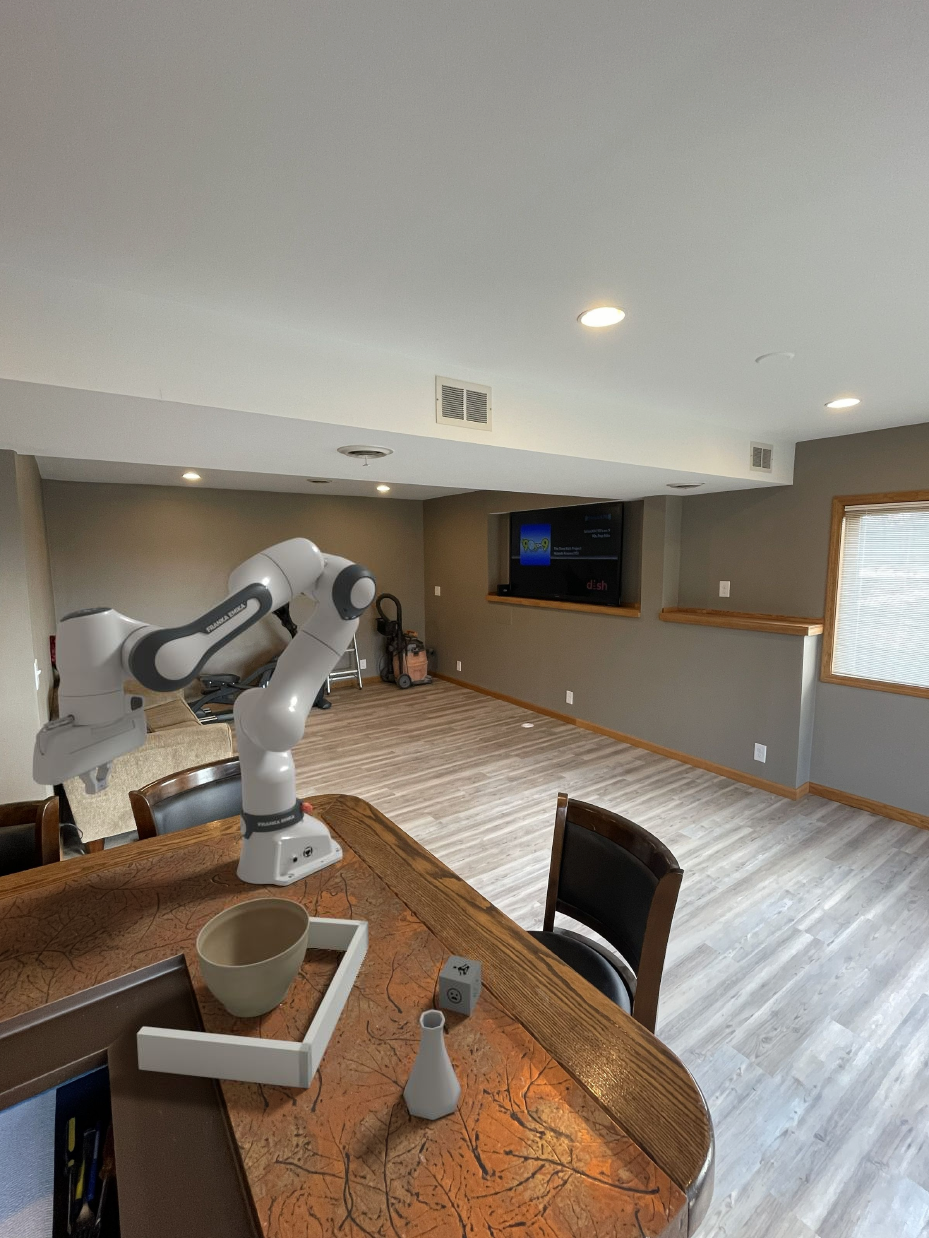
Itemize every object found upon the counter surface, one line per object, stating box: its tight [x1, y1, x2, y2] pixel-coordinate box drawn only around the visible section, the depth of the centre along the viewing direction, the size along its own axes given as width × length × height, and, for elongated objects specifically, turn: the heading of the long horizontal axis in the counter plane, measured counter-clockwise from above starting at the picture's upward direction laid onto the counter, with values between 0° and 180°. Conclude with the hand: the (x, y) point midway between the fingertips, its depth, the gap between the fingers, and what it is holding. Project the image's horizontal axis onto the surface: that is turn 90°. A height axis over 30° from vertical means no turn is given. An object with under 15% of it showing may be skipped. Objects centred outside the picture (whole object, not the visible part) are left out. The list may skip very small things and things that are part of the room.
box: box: [136, 916, 370, 1089], centre depth 85 cm, size 23×26×5 cm
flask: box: [403, 1009, 462, 1121], centre depth 70 cm, size 7×7×10 cm
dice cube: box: [438, 954, 482, 1017], centre depth 85 cm, size 5×5×5 cm
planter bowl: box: [195, 897, 310, 1018], centre depth 86 cm, size 16×16×11 cm
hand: (97, 791), depth 92 cm, fingers closed
